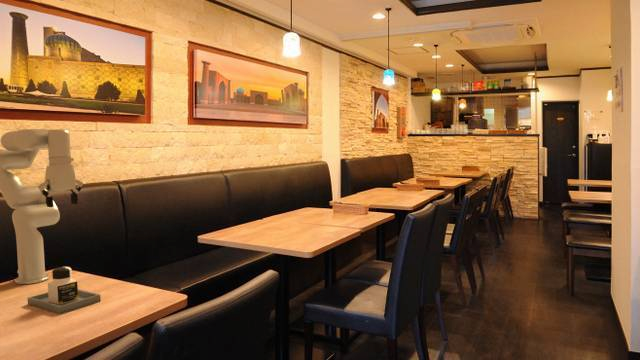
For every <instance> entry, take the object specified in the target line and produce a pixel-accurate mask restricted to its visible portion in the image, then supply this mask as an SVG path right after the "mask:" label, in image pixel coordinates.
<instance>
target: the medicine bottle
mask: <svg viewBox="0 0 640 360" xmlns="http://www.w3.org/2000/svg"><path fill="white" fill-rule="evenodd" d="M72 273H73V272H72V268H71V267H70V266H60V267H55V268H54V269H52V272H51V275H52V281H48V282H47V292H48V297H49V302H52V303H55V304H57V305H61V304H64V303H68V302H71V301H75V300H78V289H79V288H78V287H79V285H78V280H76V279H73V276H72Z"/></svg>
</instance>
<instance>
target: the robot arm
mask: <svg viewBox="0 0 640 360" xmlns="http://www.w3.org/2000/svg"><path fill="white" fill-rule="evenodd" d="M70 135H71V134H70V131H69V130H67V129H50V128H49V129H45V128H44V129H43V128H36V129H35V128H28V129H19V130H12V131H8V132H5V133H4V134H3V135H2V136H1V137H0V144H1V146H2V147H3V148H4V149H5V150H0V193H1V195H2V197H3V198H4V200H5V202H6V204H7V205H8V206H9V207H10V208H11V209H13V212H12V215H11V219H12V223H13V226H14V231H15V240H16V251H17V252H16V253H17V254H16V255H17V266H18V267H17V268H18V269H17V272H16V273H17V274H18V277H16V278H14V283H15V284H18V285H30V284H36V283H42V282H45V281H47V280H49V279H50V276H51V275H50V274H48V273H46V268H45V267H46V266H45V264H46V263H45V249H44V247H45V246H44V238H43V235H42V234H41V232H40V231H39V230H38V228H41V227H47V226H53V225H56V224H57V223H58V222H59V221H60V220H61V219H60V218H61V213H60V210H59V207H58V205H56V202H55V201H54V199H53V196H52V195H53V194H54V193H55V192H63V191H64V192H65V191H70V192H71V194H70V202H71V205H78V202H79V201H78V200H79V199H78V196H79V194H80V191H81V190H82V187H83V185H84V182H83V181H81V180H78V179H77V178H76V172H75V168H74V165H73V164H72V163H73V162H74V158H73V157H72V156H71V155H72V154H71V137H70ZM40 149H48V151H47V152H48V153H47V154H48V165H46V168H45V174H44V175H45V179H44V182H42V183H40V184H39V185H38V184H37V185H24V184H23V182H22V181H21V179H20V178H19V176H17V175H16V174H14V172H13V173H12V172H11V171H12V170H23V169H24V170H26V169H29V168H30V167H31V166H32V164H33V163H34V161H35V159H36V157H37V155H38V153H39V152H40ZM9 170H11V171H9Z"/></svg>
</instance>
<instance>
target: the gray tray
mask: <svg viewBox="0 0 640 360" xmlns="http://www.w3.org/2000/svg"><path fill="white" fill-rule="evenodd" d="M99 302H101V294H99V293H96V292H91V291H88V290H83V289H79V288H78V300H75V301H71V302H68V303H64V304H61V305H57V304H55V303H52V302H49V297H48V291H47V292H44V293H40V294H37V295H36V294H35V295H33V296H29V297H27V305H28V306H32V307H36V308H39V309H41V310H42V309H43V310H44V311H48V312H52V313H55V314H58V315H62V314H64V313H68V312H71V311H74V310H77V309H80V308H83V307H84V308H85V307H87V306H90V305H93V304H96V303H99Z"/></svg>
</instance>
